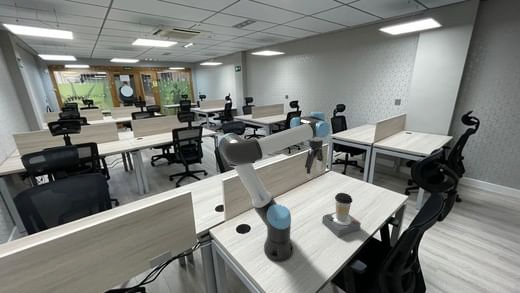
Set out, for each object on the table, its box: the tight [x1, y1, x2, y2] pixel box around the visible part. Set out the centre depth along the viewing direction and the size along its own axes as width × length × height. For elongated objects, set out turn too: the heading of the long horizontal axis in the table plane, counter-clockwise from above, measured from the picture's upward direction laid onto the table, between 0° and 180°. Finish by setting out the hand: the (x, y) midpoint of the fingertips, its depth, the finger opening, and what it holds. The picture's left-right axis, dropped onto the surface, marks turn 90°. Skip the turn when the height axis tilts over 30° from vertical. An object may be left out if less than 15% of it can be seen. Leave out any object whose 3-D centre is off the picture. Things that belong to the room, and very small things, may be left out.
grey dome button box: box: [321, 211, 362, 238], centre depth 122 cm, size 16×14×6 cm
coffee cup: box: [334, 192, 353, 222], centre depth 120 cm, size 9×9×15 cm
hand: (313, 174), depth 120 cm, fingers open, 13 cm apart
